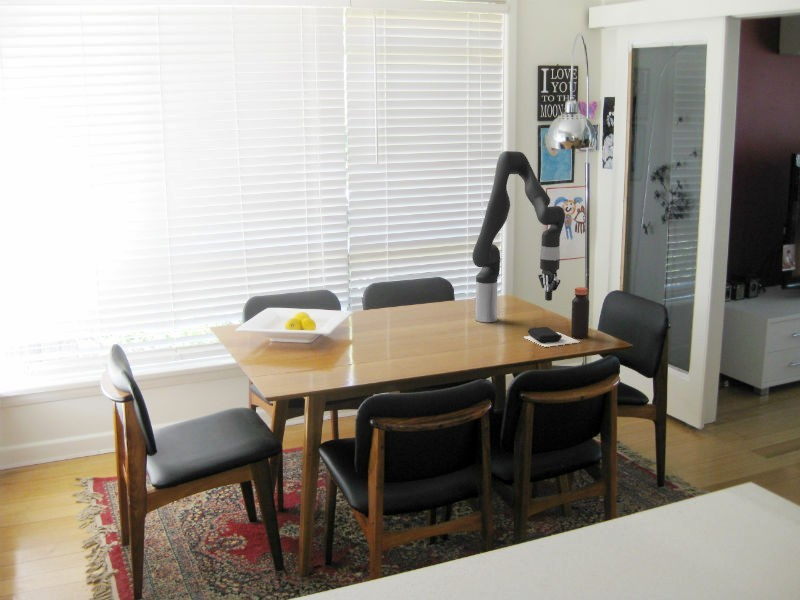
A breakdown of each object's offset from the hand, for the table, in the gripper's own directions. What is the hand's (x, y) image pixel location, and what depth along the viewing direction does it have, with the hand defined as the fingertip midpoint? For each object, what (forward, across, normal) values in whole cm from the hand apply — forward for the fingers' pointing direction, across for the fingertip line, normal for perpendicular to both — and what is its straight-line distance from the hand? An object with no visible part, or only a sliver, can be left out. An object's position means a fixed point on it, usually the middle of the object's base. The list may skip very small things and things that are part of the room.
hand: (548, 300), depth 335 cm
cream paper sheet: (+16, +3, 0) cm, 16 cm away
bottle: (+16, +3, +13) cm, 21 cm away
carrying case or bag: (+14, -6, 0) cm, 15 cm away
